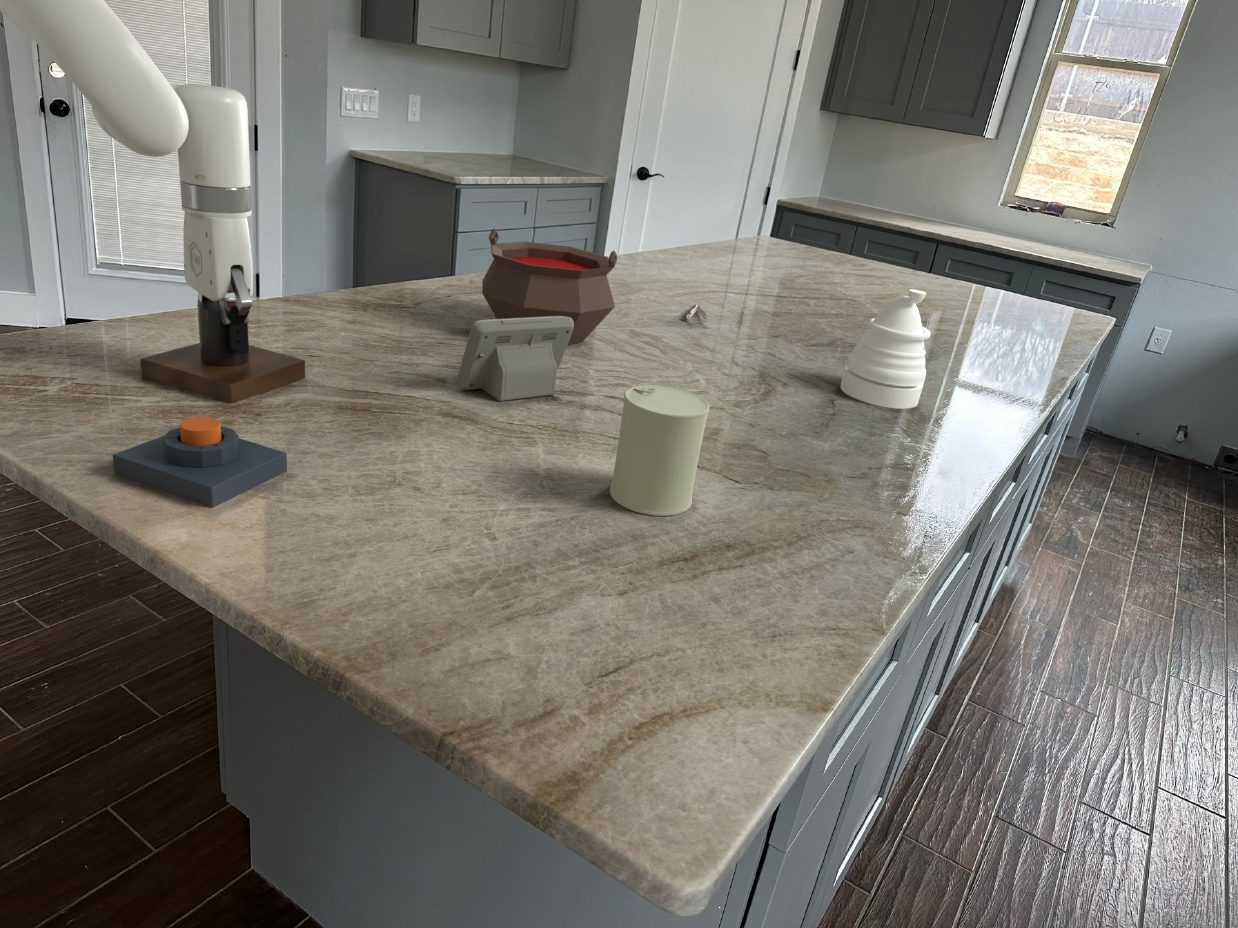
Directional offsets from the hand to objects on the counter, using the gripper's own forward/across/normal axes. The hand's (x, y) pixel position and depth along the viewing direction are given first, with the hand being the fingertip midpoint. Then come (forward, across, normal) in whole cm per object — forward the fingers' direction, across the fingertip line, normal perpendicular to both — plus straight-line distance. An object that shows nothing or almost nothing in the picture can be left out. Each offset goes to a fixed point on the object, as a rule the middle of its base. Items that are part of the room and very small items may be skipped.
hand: (224, 345), depth 107 cm
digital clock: (+5, +18, +33) cm, 37 cm away
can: (+5, +52, +26) cm, 58 cm away
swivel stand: (+4, 0, 0) cm, 4 cm away
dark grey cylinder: (+2, 0, 0) cm, 2 cm away
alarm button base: (+4, +26, -12) cm, 29 cm away
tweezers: (+5, -4, +98) cm, 98 cm away
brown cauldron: (+5, -3, +55) cm, 55 cm away
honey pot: (+5, +44, +89) cm, 100 cm away
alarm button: (+1, +26, -12) cm, 28 cm away
